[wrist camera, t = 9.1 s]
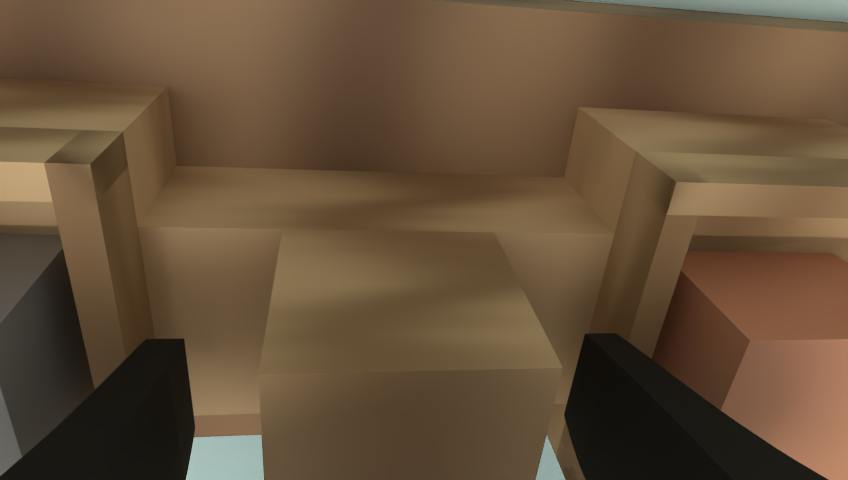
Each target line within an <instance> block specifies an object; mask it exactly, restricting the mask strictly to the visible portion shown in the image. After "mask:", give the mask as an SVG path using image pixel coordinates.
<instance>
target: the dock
mask: <svg viewBox="0 0 848 480" xmlns="http://www.w3.org/2000/svg"><path fill="white" fill-rule="evenodd" d="M0 78H10V79H30V80H50V81H70V82H90V83H110V84H130V85H150V86H168V94H169V103H170V112H171V120H172V129H173V138H174V146H175V155H176V164H177V166H202V167H235V168H267V169H300V170H333V171H366V172H399V173H432V174H465V175H498V176H530V177H563V178H564V175H565V170H566V165H567V160H568V156H569V151H570V146H571V141H572V136H573V132H574V127H575V122H576V117H577V112H578V107H589V108H609V109H629V110H649V111H669V112H689V113H709V114H729V115H749V116H768V117H788V118H808V119H827V120H829V121H832V122H834V123H837V124H839V125H842V126H844V127H847V128H848V23H843V22H830V21H818V20H805V19H793V18H780V17H768V16H755V15H743V14H730V13H718V12H706V11H693V10H681V9H668V8H656V7H643V6H631V5H618V4H606V3H593V2H581V1H568V0H0ZM194 421H195V433H194V437H210V436H237V435H262V431H261V414H260V413H259V414H228V415H197V416H194Z"/></svg>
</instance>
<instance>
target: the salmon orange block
mask: <svg viewBox="0 0 848 480" xmlns="http://www.w3.org/2000/svg"><path fill="white" fill-rule="evenodd" d="M652 360H653V361H655V362H656V363H657V364H659V365H660V366H661V367H663V368H664V369H665V370H667V371H668V372H669V373H671V374H672V375H673V376H675V377H676V378H677V379H679V380H680V381H681V382H683V383H684V384H685V385H687V386H688V387H689V388H691V389H692V390H693V391H695V392H696V393H697V394H699V395H700V396H702V397H703V398H704V399H706V400H707V401H708V402H710V403H711V404H712V405H714V406H715V407H717V408H718V409H719V410H721V411H722V412H724V413H725V414H727V415H728V416H729V417H731V418H732V419H734V420H735V421H736V422H738V423H739V424H741V425H742V426H744V427H745V428H747V429H748V430H750V431H751V432H753V433H754V434H756V435H757V436H759V437H760V438H762V439H763V440H765V441H766V442H768V443H769V444H771V445H772V446H774V447H775V448H777V449H778V450H780V451H782V452H783V453H785V454H786V455H788V456H790V457H791V458H793V459H794V460H796V461H798V462H799V463H801V464H803V465H805V466H806V467H808V468H810V469H811V470H813V471H815V472H816V473H818V474H820V475H822V476H823V477H825V478H827V479H828V480H848V263H846V262H845V261H843V260H842V259H840V258H839V257H837V256H836V255H834V254H833V253H792V252H714V251H687V253H686V256H685V259H684V262H683V265H682V268H681V271H680V274H679V277H678V280H677V283H676V286H675V289H674V292H673V295H672V298H671V301H670V304H669V307H668V310H667V313H666V316H665V319H664V323H663V326H662V329H661V332H660V335H659V338H658V341H657V344H656V347H655V350H654V353H653V356H652Z"/></svg>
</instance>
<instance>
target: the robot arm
mask: <svg viewBox="0 0 848 480" xmlns="http://www.w3.org/2000/svg"><path fill="white" fill-rule="evenodd" d="M564 417H565V421H566V424H567V428H568V431H569V435H570V438H571V442H572V445H573V448H574V451H575V454H576V457H577V460H578V463H579V466H580V468H581V470H582V473H583V475H584V477H585V480H828V479H827V478H825V477H823V476H822V475H820V474H818V473H816V472H815V471H813V470H811V469H810V468H808V467H806V466H805V465H803V464H801V463H799V462H798V461H796V460H794V459H793V458H791V457H790V456H788V455H786V454H785V453H783V452H782V451H780V450H778V449H777V448H775V447H774V446H772V445H771V444H769V443H768V442H766V441H765V440H763V439H762V438H760V437H759V436H757V435H756V434H754V433H753V432H751V431H750V430H748V429H747V428H745V427H744V426H742V425H741V424H739V423H738V422H736V421H735V420H734V419H732V418H731V417H729V416H728V415H727V414H725V413H724V412H722V411H721V410H719V409H718V408H717V407H715V406H714V405H712V404H711V403H710V402H708V401H707V400H706V399H704V398H703V397H702V396H700V395H699V394H697V393H696V392H695V391H693V390H692V389H691V388H689V387H688V386H687V385H685V384H684V383H683V382H681V381H680V380H679V379H677V378H676V377H675V376H673V375H672V374H671V373H669V372H668V371H667V370H665V369H664V368H663V367H661V366H660V365H659V364H657V363H656V362H655V361H653V360H652V359H651V358H650V357H648V356H647V355H645V354H644V353H643V352H641V351H640V350H639V349H637V348H636V347H635V346H633V345H632V344H630V343H629V342H628V341H626V340H625V339H623V338H622V337H620V336H619V335H617V334H616V333H591V334H585V335H584V339H583V343H582V347H581V350H580V354H579V358H578V362H577V366H576V370H575V374H574V377H573V381H572V385H571V389H570V393H569V397H568V401H567V404H566V408H565V412H564ZM194 433H195V421H194V413H193V405H192V397H191V389H190V381H189V373H188V365H187V357H186V349H185V341H184V338H180V339H146V340H145V341H143V342H142V343H141V344H140V345H139V346H138V347H137V348H136V349H135V350H134V351H133V352H132V353H131V354H130V355H129V356H128V357H127V358H126V359H125V360H124V361H123V362H122V363H121V364H120V365H119V366H118V367H117V368H116V369H115V370H114V371H113V372H112V373H111V374H110V375H109V376H108V377H107V378H106V379H105V380H104V381H103V382H102V383H101V384H100V385H99V386H98V387H97V388H96V389H95V390H94V391H93V392H92V393H91V394H90V395H89V396H88V397H87V398H86V399H85V400H84V401H83V402H82V403H81V404H80V405H79V406H78V407H76V408H75V409H74V410H73V411H72V412H71V413H70V414H69V415H68V416H67V417H66V418H65V419H64V420H63V421H62V422H61V423H60V424H59V425H58V426H57V427H55V428H54V429H53V430H52V431H51V432H50V433H49V434H48V435H47V436H46V437H45V438H43V439H42V440H41V441H40V442H39V443H38V444H37V445H35V446H34V447H33V448H32V449H31V450H30V451H29V452H27V453H26V454H25V455H24V456H23V457H22V458H20V459H19V460H18V461H17V462H16V463H15V464H14V465H12V466H11V467H10V468H9V469H8V470H7V471H6V472H4V473H3V474H2V475H1V476H0V480H186V475H187V470H188V465H189V460H190V455H191V449H192V444H193V438H194Z"/></svg>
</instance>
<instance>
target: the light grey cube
mask: <svg viewBox="0 0 848 480" xmlns="http://www.w3.org/2000/svg"><path fill="white" fill-rule="evenodd" d="M94 390H95V389H94V384H93V380H92V376H91V371H90V367H89V362H88V358H87V353H86V349H85V344H84V340H83V335H82V331H81V326H80V322H79V317H78V313H77V309H76V304H75V300H74V295H73V291H72V286H71V282H70V277H69V273H68V268H67V264H66V259H65V255H64V251H63V246H62V242H61V237H60V235H40V234H0V476H1V475H2V474H3V473H4V472H6V471H7V470H8V469H9V468H10V467H11V466H12V465H14V464H15V463H16V462H17V461H18V460H19V459H20V458H22V457H23V456H24V455H25V454H26V453H27V452H29V451H30V450H31V449H32V448H33V447H34V446H35V445H37V444H38V443H39V442H40V441H41V440H42V439H43V438H45V437H46V436H47V435H48V434H49V433H50V432H51V431H52V430H53V429H54V428H55V427H57V426H58V425H59V424H60V423H61V422H62V421H63V420H64V419H65V418H66V417H67V416H68V415H69V414H70V413H71V412H72V411H73V410H74V409H75V408H76V407H78V406H79V405H80V404H81V403H82V402H83V401H84V400H85V399H86V398H87V397H88V396H89V395H90V394H91V393H92V392H93V391H94Z"/></svg>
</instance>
